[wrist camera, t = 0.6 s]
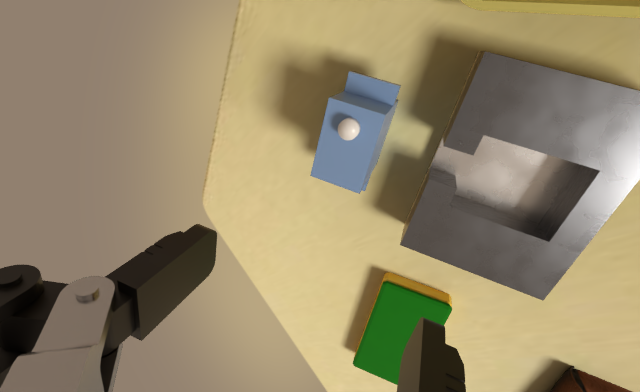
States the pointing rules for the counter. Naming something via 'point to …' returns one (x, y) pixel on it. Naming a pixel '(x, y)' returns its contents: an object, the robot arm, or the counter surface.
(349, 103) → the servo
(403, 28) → the counter surface
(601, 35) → the counter surface
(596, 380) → the sunglasses case
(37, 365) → the robot arm
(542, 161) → the grey hollow block
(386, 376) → the dish sponge
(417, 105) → the counter surface
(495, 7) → the plastic component
